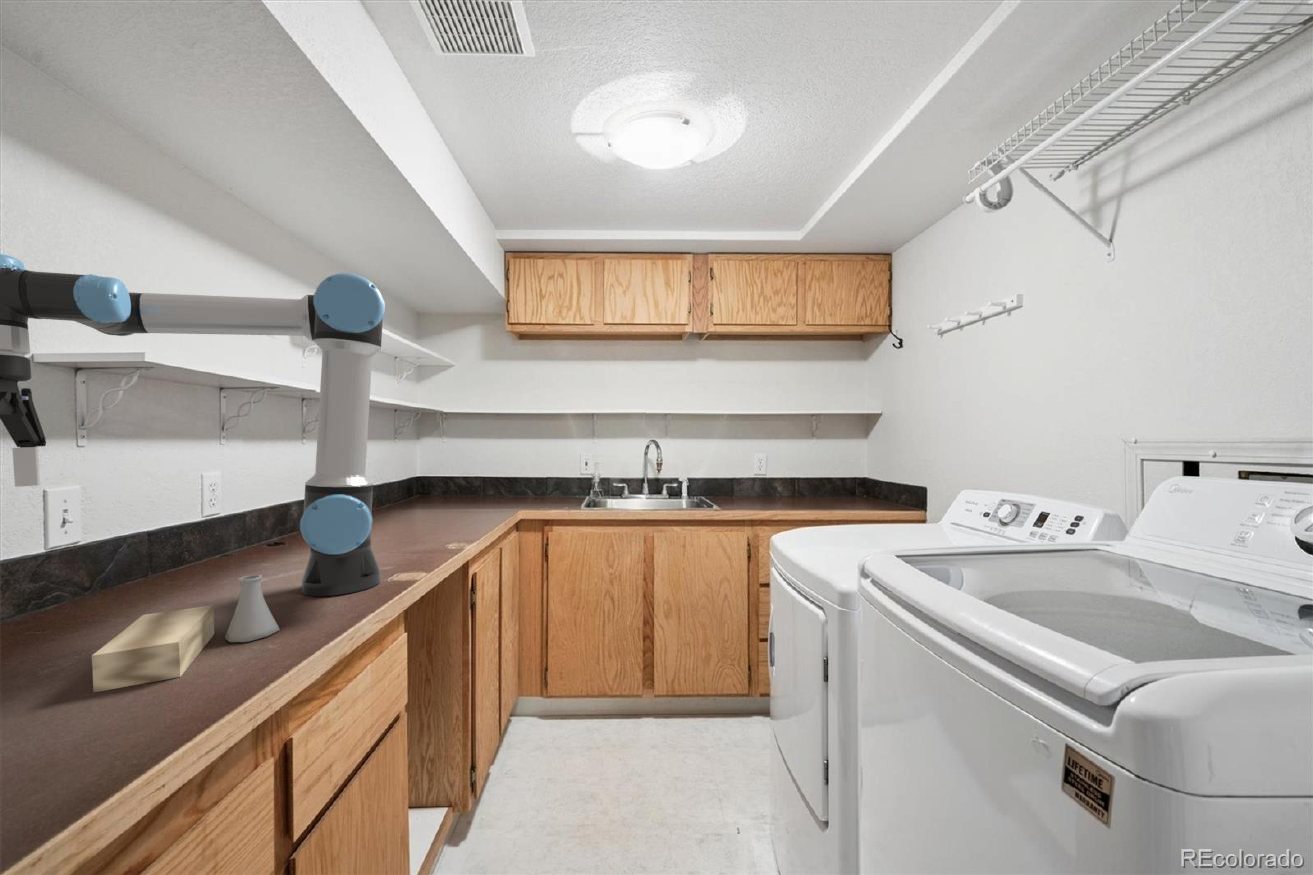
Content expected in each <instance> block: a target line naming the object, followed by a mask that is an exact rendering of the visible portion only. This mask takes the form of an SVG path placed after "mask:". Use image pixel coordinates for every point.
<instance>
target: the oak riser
mask: <svg viewBox="0 0 1313 875" xmlns="http://www.w3.org/2000/svg"><path fill="white" fill-rule="evenodd" d="M214 613H215V612H214V605H213V604H212V605H205V606H197V607H191V608H190V607H189V608H183V609H175V610H167V611H162V612H161V611H159V612H154V613H145V614H142V615H141V616H140V617H138V618H137V619H136V620H135V621H133V622H132V623H131V624H130V625H129V626H127V627H126V628H124V629H123V631H121V632H120V633H118V635H116V636H115V637H114V638H112V639H111V640H110V641H108V642H107V643H106V644H105V645H103V646H102V647H100V648H99V649H98V650H97V651H96V652H95V653H93V654H92V655H91V665H92V666H91V667H92V687H93V688H92V690H93V693H98V692H105V691H110V690H115V689H120V688H121V689H122V688H126V687H127V688H128V687H131V686H138V685H142V684H147V683H148V684H149V683H153V682H159V681H165V680H171V679H177V678H181V677H182V676H183V674H184V673H185V672H186V670H187V669H188V668H189V667H190V665H191V664H192V663H193V662H194V661H195V659H196V658H197V656H199V654H200V653H201V652H202V651H203V650H204V648H205V647H206V645H207V644H208V643H209V642H210V640H211V639H212V638H213V637H214V635H215V620H214V619H215V618H214Z"/></svg>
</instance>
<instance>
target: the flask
mask: <svg viewBox="0 0 1313 875" xmlns="http://www.w3.org/2000/svg"><path fill="white" fill-rule="evenodd" d="M263 579H264V578H263V575H261V574H249V575H245V576H244V575H243V576H242V577H238V578H237V581H238V583H239V584H240V593H239V597H238V602H237V605H236V608H235V611H234V614H233V616H232V618H231V620H230V624H229V626H228V629H227V630H226V633H225V636H224V639H225V640H226V641H227V642H229V643H249V642H251V641H252V642H253V641H256V640H259V639H262V638H266V637H269V636H271V635H273V634H274V633H277V632H278V631H280V630H281V629H280V627H279V625H278V624H277V621H276V619H275V618H274V616H273V614H272V612H271V611H270V608H269V606H268V604H267V603H266V601H265V600H266V599H265V597H264V594H263V590H262V586H261V585H262V584H261V580H263Z"/></svg>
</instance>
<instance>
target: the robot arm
mask: <svg viewBox="0 0 1313 875" xmlns="http://www.w3.org/2000/svg"><path fill="white" fill-rule="evenodd" d="M315 289H316V290H315V291H314V294H306V295H304V296H303V297H302V298H299V299H298V298H297V299H296V298H278V297H277V298H275V297H273V298H272V297H255V296H254V297H253V296H252V297H249V296H247V297H246V296H226V295H225V296H224V295H202V294H201V295H200V294H199V295H198V294H177V293H155V292H154V293H151V292H143V293H142V292H141V293H140V292H130V291H129V290H128V288H127V287H126V285H125V283H124V282H123V281H121V280H120V279H118V278H115V277H111V276H101V275H97V274H76V273H61V272H45V271H34V270H33V271H32V270H28V269H26V268H25V265H24V263H23V261H22V260H20V259H19V258H16V257H14V256H10V255H7V254H2V253H0V420H1V422H2V423H3V426H4V427H5V429H6V430H7V433H8V434H9V435H10V437H11V439H12V441H13V442H14V444H15V446H16V447H12V461H13V476H14V487H16V488H17V487H34V486H41V476H40V464H39V463H40V461H39V448H38V447H46V445H47V441H46V435H45V433H44V430H43V427H42V425H41V422H40V419H39V418H40V417H39V416H38V413H37V410H36V407H35V404H34V401H33V392H32V389H31V388H30V387H29V388H25V387H21V388H20V387H19V384H18V382H28V381H29V380H31V379H32V366H31V359H29V358H28V357H26V355H29V354H30V353H31V347H30V334H29V333H30V332H29V324H28V322H29V319H35V320H52V321H53V320H57V321H70V322H71V321H72V322H76V323H78V324H81V325H84V326H87V327H89V328H92V329H94V330H96V331H98V332H100V333H102V334H105V335H107V336H115V337H116V336H118V337H126V336H127V337H128V336H132V335H134V334H173V335H174V334H178V335H179V334H182V335H184V334H186V335H196V334H197V335H236V336H237V335H238V336H240V335H242V336H244V335H245V336H246V335H247V336H288V337H289V336H291V337H292V336H294V337H295V336H298V337H300V336H301V337H305V338H307V339H308V340H309V341H310V342H311V341H312V342H314V344H315V345H316V346H318V347H319V349H321V355H322V356H321V370H320V371H321V372H320V386H319V387H320V388H319V401H318V402H319V403H318V404H319V406H318V418H317V420H318V424H317V436H316V437H317V439H316V454H315V455H316V456H315V470H314V471H315V473H314V474H313V476H311V477H310V478H309V479H307V480H306V481H305V484H304V498H303V499H304V500H303V513H302V515H301V517H300V521H299V530H300V531H299V532H300V534H301V536H302V538H303V540H304V541H305V543H306V544H307V545H308V546H309V558H308V561H307V564H306V568H305V571H304V574H303V577H302V579H301V593H302V594H303V595H306V596H310V597H331V596H339V595H345V594H346V595H347V594H350V593H351V594H352V593H356V592H360V591H363V590H367V589H370V588H373V587H375V586H377V585H378V584H381V581H382V570H381V568H380V566H379V564H378V561H377V559H376V556H375V554H374V551H373V549H372V534H371V533H372V529H373V522H374V521H373V519H374V518H373V516H372V511H373V510H372V509H373V495H374V494H373V491H374V482H373V481H372V480H370V478H369V477H368V476H367V475H366V469H367V468H366V466H367V465H366V464H367V450H368V435H369V433H368V432H369V418H370V417H369V416H370V415H369V414H370V400H371V399H370V395H371V384H372V367H373V366H372V364H373V357H374V356H375V355H376V354H377V353H379V352H380V351H381V350H382V339H383V338H382V337H383V324H384V322H383V320H384V316H385V313H386V312H385V311H386V305H385V300H384V298H383V295H382V294H381V292H380V290H379V289H378V287H377V286H376V285H375V284H374V283H373V282H372V281H370V280H368V279H367V278H366V277H363V276H361V275H358V274H355V273H349V272H341V273H335V274H332V275H329V276H328V277H326V278H325V279H323V280H321V282H320V283H319V285H318V286H317V287H316V288H315Z"/></svg>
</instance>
